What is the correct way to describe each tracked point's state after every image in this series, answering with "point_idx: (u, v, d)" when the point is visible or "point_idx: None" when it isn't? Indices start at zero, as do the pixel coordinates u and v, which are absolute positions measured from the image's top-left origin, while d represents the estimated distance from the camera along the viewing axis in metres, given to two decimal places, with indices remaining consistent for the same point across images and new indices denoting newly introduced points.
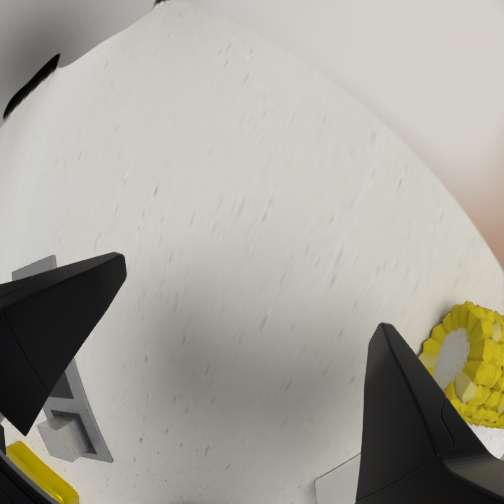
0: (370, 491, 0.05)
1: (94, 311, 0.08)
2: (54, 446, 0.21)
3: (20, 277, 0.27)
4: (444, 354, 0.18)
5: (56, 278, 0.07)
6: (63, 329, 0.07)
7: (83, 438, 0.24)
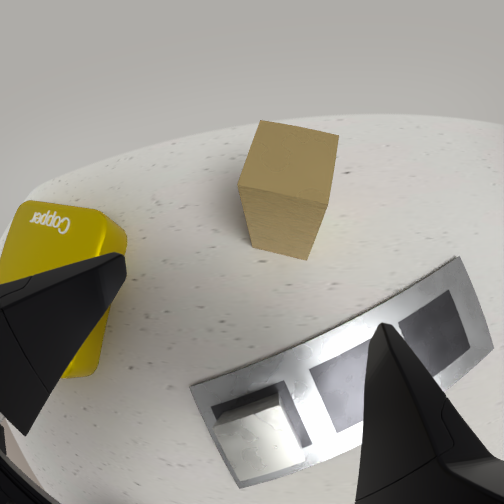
0: (370, 491, 0.05)
1: (94, 311, 0.08)
2: (252, 447, 0.15)
3: (462, 283, 0.20)
4: None
5: (56, 278, 0.07)
6: (63, 329, 0.07)
7: None
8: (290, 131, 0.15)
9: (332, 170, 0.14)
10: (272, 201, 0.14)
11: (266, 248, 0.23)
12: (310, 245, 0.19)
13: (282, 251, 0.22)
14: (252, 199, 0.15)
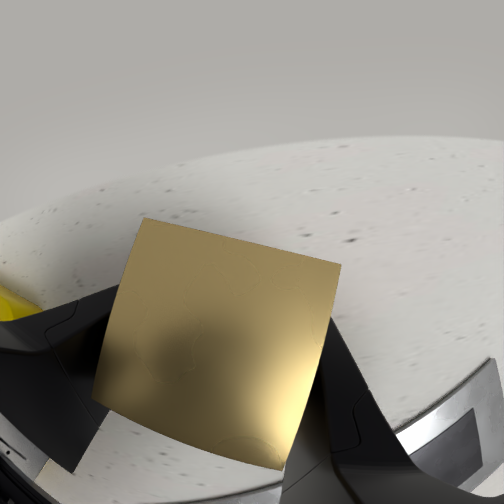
0: (289, 484, 0.05)
1: None
2: None
3: (491, 395, 0.12)
4: None
5: (110, 303, 0.06)
6: None
7: None
8: (209, 254, 0.06)
9: (308, 386, 0.05)
10: None
11: None
12: None
13: None
14: None
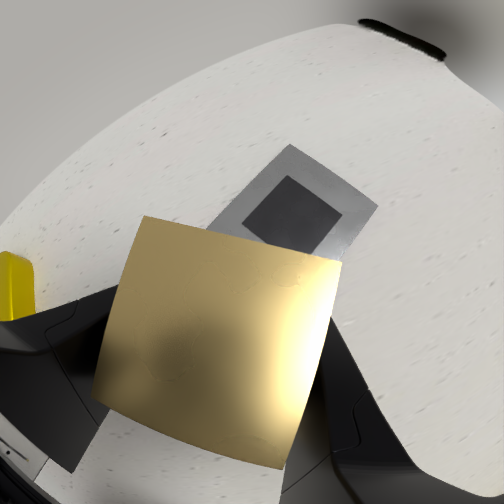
0: (289, 484, 0.05)
1: None
2: None
3: (302, 164, 0.25)
4: None
5: (110, 303, 0.06)
6: None
7: None
8: (209, 252, 0.06)
9: (308, 384, 0.05)
10: None
11: None
12: None
13: None
14: None
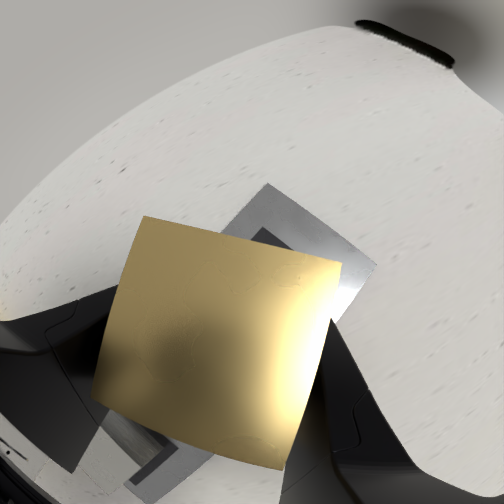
0: (289, 484, 0.05)
1: None
2: (95, 459, 0.12)
3: (282, 211, 0.20)
4: None
5: (110, 303, 0.06)
6: None
7: None
8: (209, 252, 0.06)
9: (308, 385, 0.05)
10: None
11: None
12: None
13: None
14: None
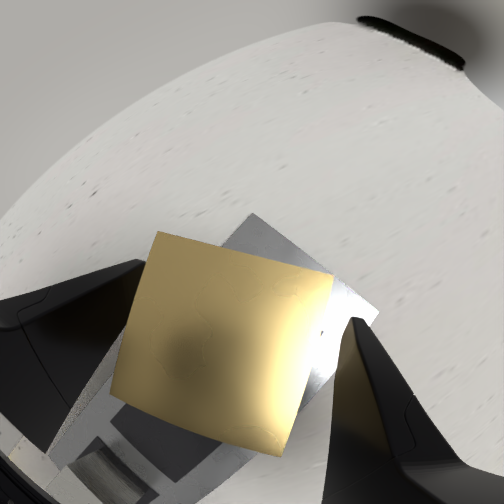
0: (335, 490, 0.05)
1: (117, 321, 0.08)
2: None
3: (269, 248, 0.17)
4: None
5: (78, 289, 0.07)
6: (86, 342, 0.07)
7: None
8: (217, 265, 0.07)
9: (303, 381, 0.06)
10: None
11: None
12: None
13: None
14: None
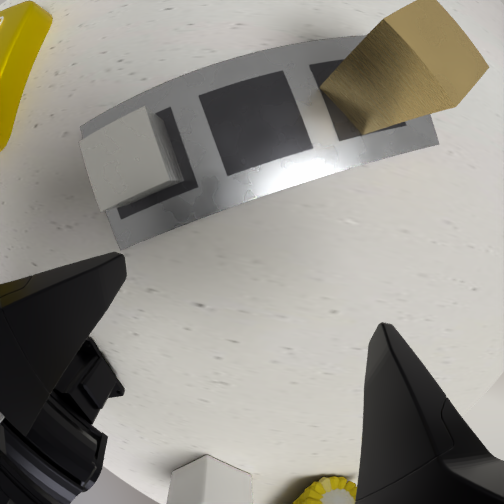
0: (370, 491, 0.05)
1: (94, 311, 0.08)
2: (114, 160, 0.14)
3: None
4: (336, 495, 0.24)
5: (56, 278, 0.07)
6: (63, 329, 0.07)
7: (146, 196, 0.18)
8: (452, 24, 0.07)
9: (472, 85, 0.08)
10: (401, 59, 0.08)
11: (333, 97, 0.16)
12: (385, 125, 0.14)
13: (347, 110, 0.16)
14: (381, 42, 0.08)
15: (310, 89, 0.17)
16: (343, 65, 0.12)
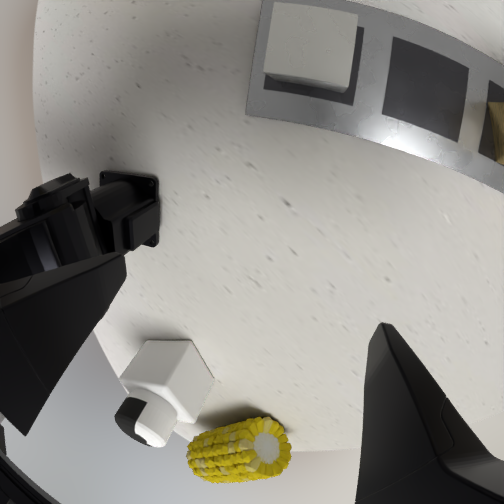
0: (370, 491, 0.05)
1: (94, 311, 0.08)
2: (304, 38, 0.11)
3: None
4: (268, 440, 0.32)
5: (56, 278, 0.07)
6: (63, 329, 0.07)
7: (302, 84, 0.16)
8: None
9: None
10: None
11: (494, 118, 0.12)
12: None
13: (498, 136, 0.12)
14: None
15: (480, 98, 0.12)
16: None
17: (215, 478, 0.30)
